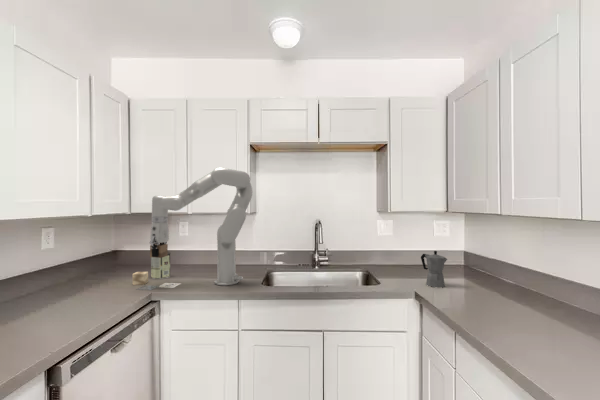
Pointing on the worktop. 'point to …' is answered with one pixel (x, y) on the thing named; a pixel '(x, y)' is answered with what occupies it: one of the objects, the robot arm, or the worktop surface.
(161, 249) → the walnut block
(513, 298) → the worktop surface
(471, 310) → the worktop surface
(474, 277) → the worktop surface
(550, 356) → the worktop surface
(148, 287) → the slate coaster
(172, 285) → the tile
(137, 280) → the maple block
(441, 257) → the coffeepot
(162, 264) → the coffee can
